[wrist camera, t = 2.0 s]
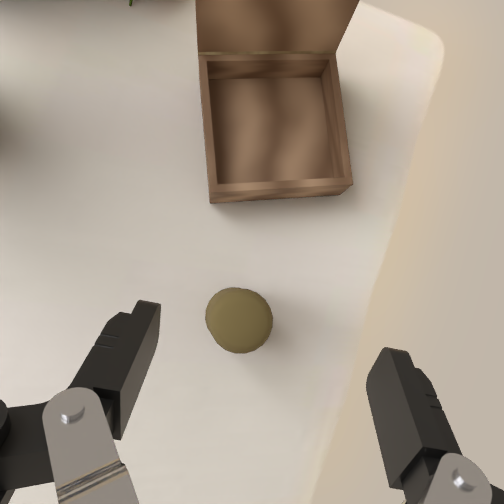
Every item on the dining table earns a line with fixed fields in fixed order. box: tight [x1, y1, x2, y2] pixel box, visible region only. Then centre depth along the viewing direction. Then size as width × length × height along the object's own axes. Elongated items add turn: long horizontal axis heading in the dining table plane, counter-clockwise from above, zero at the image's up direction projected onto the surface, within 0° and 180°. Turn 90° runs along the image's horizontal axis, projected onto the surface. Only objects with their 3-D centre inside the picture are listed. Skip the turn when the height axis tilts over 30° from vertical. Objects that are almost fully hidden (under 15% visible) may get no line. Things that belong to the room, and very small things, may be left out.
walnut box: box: [198, 53, 353, 203], centre depth 40 cm, size 15×15×4 cm
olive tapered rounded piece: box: [205, 288, 273, 353], centre depth 33 cm, size 6×6×11 cm
